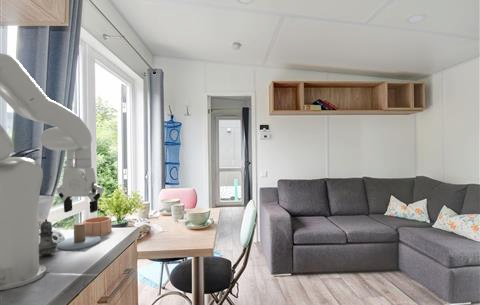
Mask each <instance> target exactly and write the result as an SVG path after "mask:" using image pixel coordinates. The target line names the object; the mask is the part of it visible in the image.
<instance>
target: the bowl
mask: <svg viewBox="0 0 480 305" xmlns="http://www.w3.org/2000/svg"><path fill="white" fill-rule="evenodd" d="M82 223H85V235H94V236H99V237H100V236H105V235H106V234H110V233H111V232H112V217H110V216H95V217H90V218H86V219H84V220H83V221H82Z"/></svg>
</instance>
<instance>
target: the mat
mask: <svg viewBox="0 0 480 305" xmlns="http://www.w3.org/2000/svg"><path fill="white" fill-rule="evenodd" d="M99 237H100V239H101V241H100V242H99V243H98V244H96V245H93V246H91V247H87V248H83V249H77V250H61V249H58V246H56V250H55V251H56V252H82V253H83V252H84V253H85V252H87V251H89V250H91V249H92V248H93V247H96V246H97V245H99V244H101V243H103V242H105V241H107V240H108V239H110V238H111V237H110V236H109V237H108V236H107V237H106V236H99ZM55 251H54V252H55Z"/></svg>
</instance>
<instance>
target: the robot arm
mask: <svg viewBox="0 0 480 305" xmlns="http://www.w3.org/2000/svg"><path fill="white" fill-rule="evenodd" d="M0 97H1V99H3V101H5V102H6V104H8V106H10V107H11V109H13V111H14V112H15V113H16V114H17V115H19V116H21V117H22V118H25V119H27V120H31V121H34V122H38V123H41V124H45V125H48V126H53V127H50V128H47V129H45V130H43V132H41V134H40V139H39V140H40V143H41V144H42V146H43V147H44V148H46V149H48V150H51V151H66V152H65V153H66V160H65V161H64V165H66V167H65V168H64V171H63V175H62V184H61V186H59V187H56V192H57V194H58V196H59V197H60V199H61V201H62V202H63V212H64V213H69V212H71V211H72V210H73V200H72V199H71V198H72V197H74V198H75V197H76V198H77V197H78V198H79V197H81V198H83V197H88V198H89V200H90V201H89V213H91V214H92V213H96V212H98V208H99V207H98V206H99V205H98V204H99V202H98V201H99V200H100V198H101V197H102V196H103V194H104V191H105V188H104V187H103V186H101V185H98V184H97V179H96V173H95V169H94V167H92V163H93V162H92V161H93V160H92V143H93V142H92V141H93V138H92V134H91V131H90V130H89V128H88V126H87V125H86V123H85V122H84V121H83V119H82V118H81V117H80V116H79V115H78V114H77V113H75V112H74V111H72V110H70V109H69V108H67V107H65V106H63V105H62V104H60V103H59V102H56V101H54V100H52V99H50V98H49V97H48V96H47V95H46V93H45V92H44V91H43V90H42V88H40V86H39V85H38V83H37V82H36V81H35V80H34V78H32V76H31V75H30V73H29V72H28V71H27V70H26V69H25V68H24V67H23V65H22V64H21V62H19V60H18V59H16V58H14V57H13V56H11V55H9V54H6V53H0ZM14 149H15V145H14V142H13V140H12V138H11V136H10V135H9V134H8V132H7V131H6V130H5V129H4V127H3V126H2V125H1V124H0V291H3V290H9V289H15V288H18V287H22V286H24V285H25V286H26V285H28V284H30V283H34V282H35V281H37V280H39V279H40V278H42V277H43V276H45V275H46V273H47V267H46V265H44V264H42V263H40V258H39V256H40V255H39V244H40V235H39V234H40V230H39V229H40V227H39V226H40V220H39V219H40V218H39V217H40V212H39V207H40V206H39V204H40V193H41V188H42V184H43V179H44V170H43V168H42V166H41V164H40V163H39V162H38V161H36V160H34V159H32V158H29V157H28V158H27V157H23V156H12V155H13V152H14ZM96 192H97V193H96Z"/></svg>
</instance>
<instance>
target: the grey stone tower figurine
mask: <svg viewBox="0 0 480 305" xmlns="http://www.w3.org/2000/svg"><path fill="white" fill-rule="evenodd" d="M52 228H53V226H52V222H51V221H48V219H47V218H45V219H44V221H43V222H42V223H41V224H40V232H39V259H46V258H51V257H53V256H55V255H56V253H55V250H56V246H57V245H58V243H59V242H56V241H55V242H54V241H53V234H54V231H53V229H52Z"/></svg>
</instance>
